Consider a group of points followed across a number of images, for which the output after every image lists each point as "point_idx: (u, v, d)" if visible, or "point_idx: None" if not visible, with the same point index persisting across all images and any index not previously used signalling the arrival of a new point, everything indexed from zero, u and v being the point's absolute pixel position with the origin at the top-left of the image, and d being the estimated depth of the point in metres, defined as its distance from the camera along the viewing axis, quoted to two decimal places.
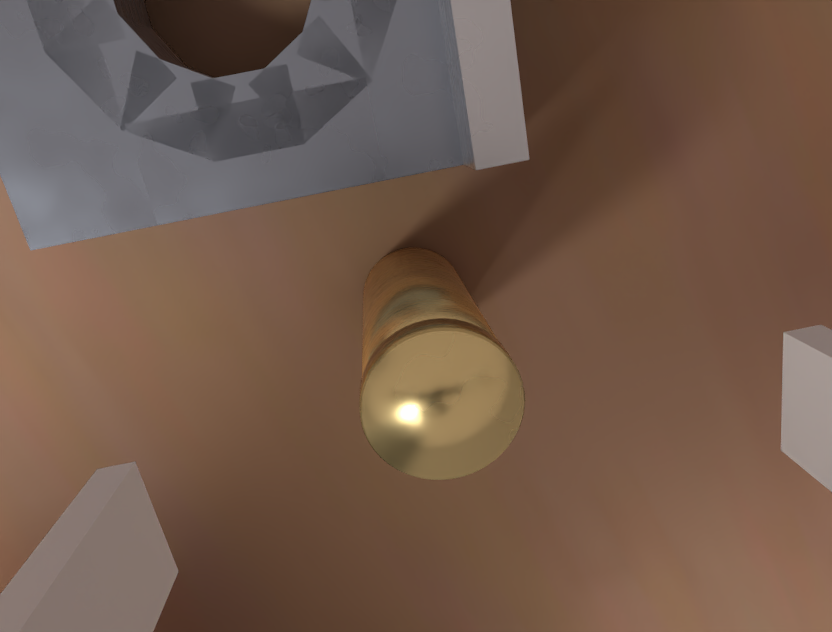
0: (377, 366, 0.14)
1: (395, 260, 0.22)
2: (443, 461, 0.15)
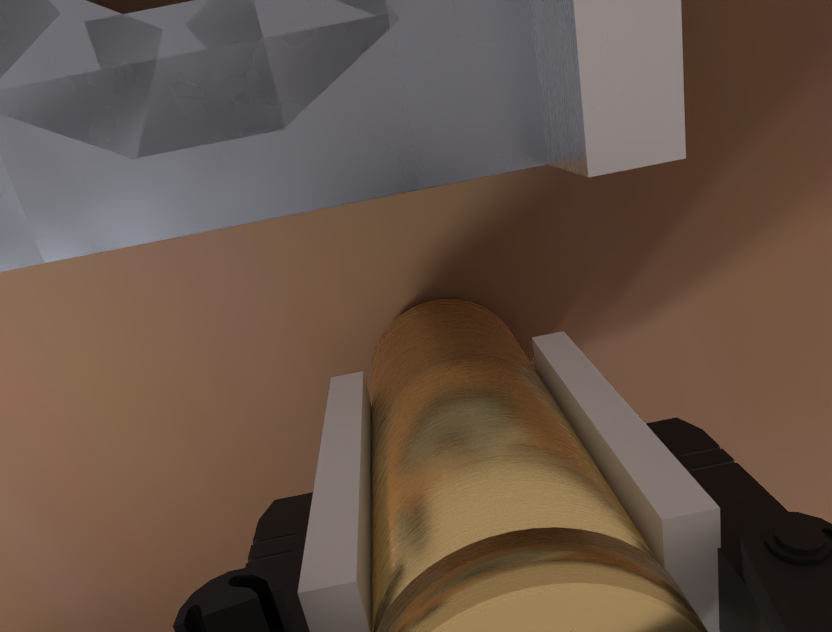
0: None
1: (423, 325, 0.14)
2: None
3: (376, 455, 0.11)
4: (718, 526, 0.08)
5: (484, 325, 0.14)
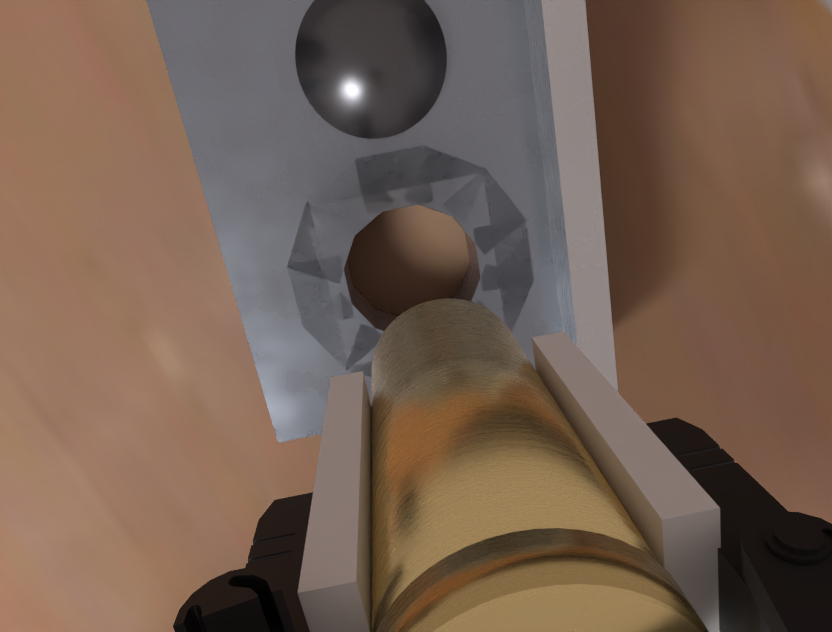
0: None
1: (423, 324, 0.14)
2: None
3: (376, 455, 0.11)
4: (718, 526, 0.08)
5: (484, 325, 0.14)
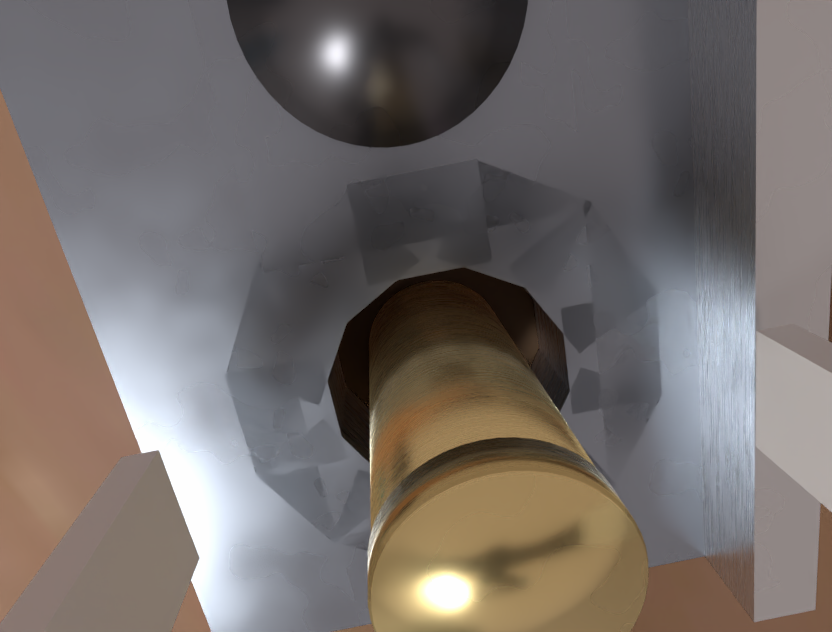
0: (399, 533, 0.08)
1: (414, 301, 0.16)
2: None
3: (373, 406, 0.13)
4: None
5: (467, 301, 0.16)
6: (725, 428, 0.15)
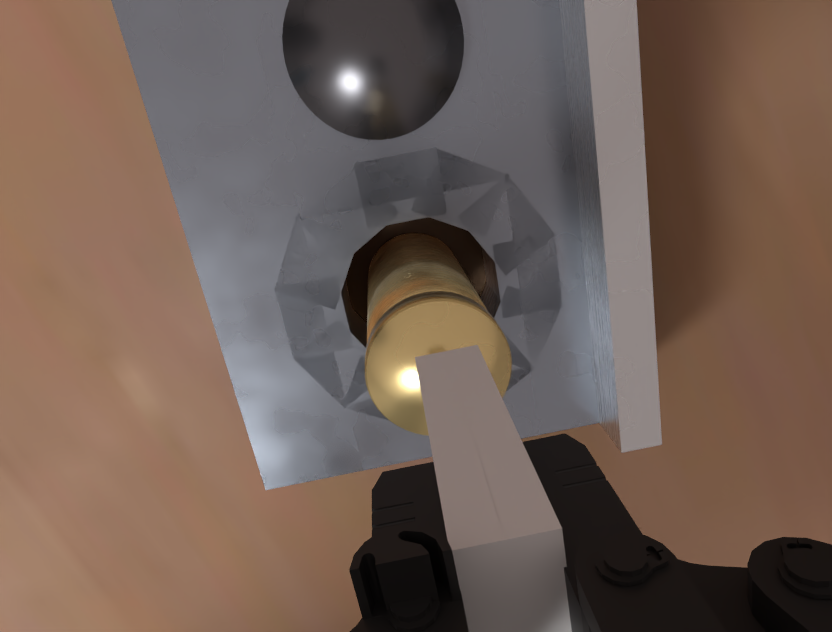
0: (380, 332, 0.16)
1: (397, 244, 0.24)
2: None
3: (369, 300, 0.21)
4: (561, 546, 0.08)
5: (433, 243, 0.24)
6: (599, 322, 0.23)
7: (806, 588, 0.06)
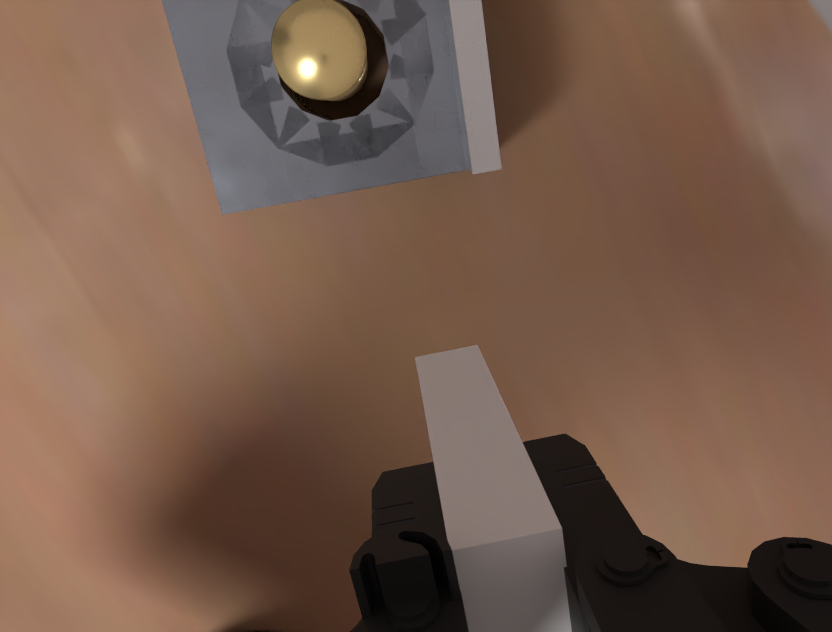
0: (279, 17, 0.25)
1: None
2: (320, 85, 0.26)
3: None
4: (561, 546, 0.08)
5: None
6: (456, 77, 0.32)
7: (806, 588, 0.06)
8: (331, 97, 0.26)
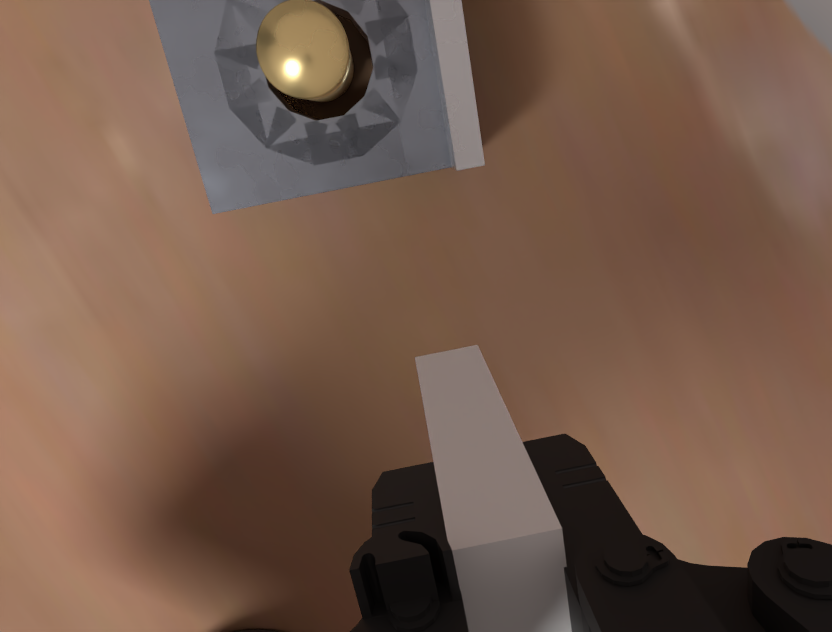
0: (264, 19, 0.26)
1: None
2: (304, 85, 0.27)
3: None
4: (561, 546, 0.08)
5: None
6: (439, 76, 0.33)
7: (806, 588, 0.06)
8: (315, 96, 0.27)
